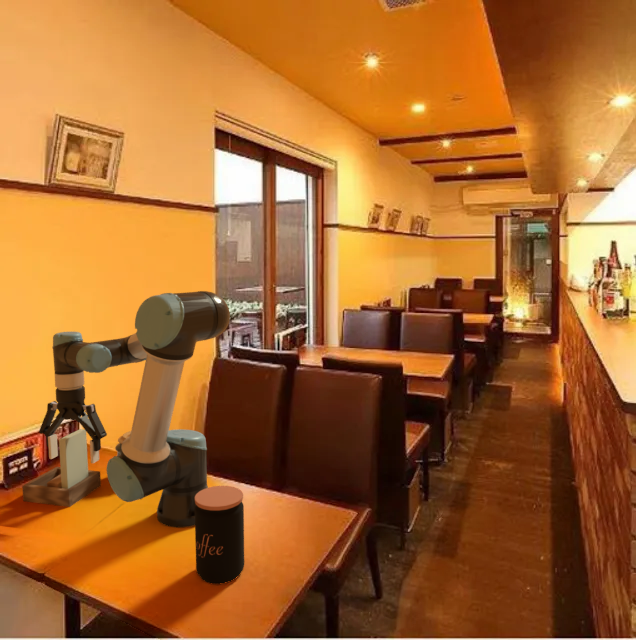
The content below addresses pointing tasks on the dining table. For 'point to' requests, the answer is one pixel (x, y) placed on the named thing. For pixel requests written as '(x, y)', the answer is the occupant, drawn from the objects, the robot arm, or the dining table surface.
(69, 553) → the dining table surface
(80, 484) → the tray
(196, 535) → the coffee jar
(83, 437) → the panel
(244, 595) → the dining table surface
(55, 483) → the offcut top
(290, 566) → the dining table surface
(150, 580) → the dining table surface
